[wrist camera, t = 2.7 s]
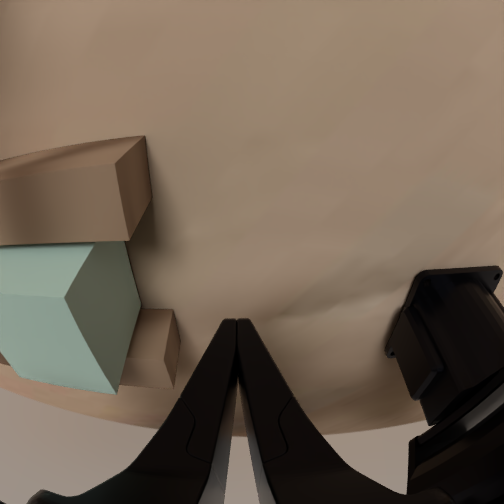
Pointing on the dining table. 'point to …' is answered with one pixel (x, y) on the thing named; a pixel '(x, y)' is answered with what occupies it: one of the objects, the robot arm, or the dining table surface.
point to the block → (68, 312)
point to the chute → (91, 227)
